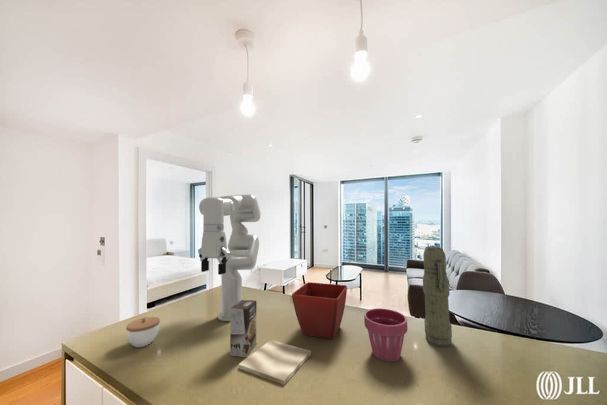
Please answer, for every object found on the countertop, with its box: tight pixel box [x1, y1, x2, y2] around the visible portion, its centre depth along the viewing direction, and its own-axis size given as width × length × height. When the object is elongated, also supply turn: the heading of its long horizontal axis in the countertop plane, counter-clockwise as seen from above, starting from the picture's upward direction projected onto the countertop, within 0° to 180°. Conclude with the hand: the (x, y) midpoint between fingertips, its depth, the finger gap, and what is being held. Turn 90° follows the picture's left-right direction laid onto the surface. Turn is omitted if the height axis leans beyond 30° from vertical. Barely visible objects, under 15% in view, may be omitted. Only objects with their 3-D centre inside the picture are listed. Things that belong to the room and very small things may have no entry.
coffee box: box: [229, 299, 257, 358], centre depth 87 cm, size 9×6×16 cm
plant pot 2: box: [363, 307, 408, 362], centre depth 82 cm, size 14×14×13 cm
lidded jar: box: [125, 316, 161, 348], centre depth 92 cm, size 11×11×9 cm
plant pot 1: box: [291, 281, 348, 340], centre depth 101 cm, size 19×19×17 cm
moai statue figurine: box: [422, 246, 453, 348], centre depth 92 cm, size 9×12×35 cm
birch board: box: [238, 339, 312, 386], centre depth 79 cm, size 17×17×1 cm
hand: (213, 272), depth 94 cm, fingers open, 9 cm apart
